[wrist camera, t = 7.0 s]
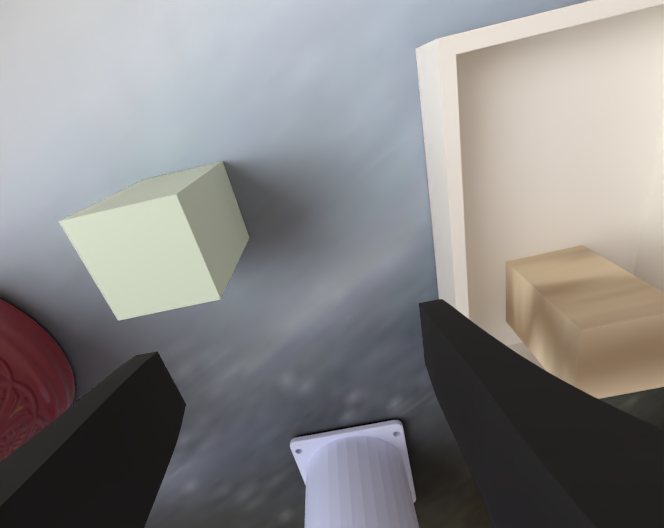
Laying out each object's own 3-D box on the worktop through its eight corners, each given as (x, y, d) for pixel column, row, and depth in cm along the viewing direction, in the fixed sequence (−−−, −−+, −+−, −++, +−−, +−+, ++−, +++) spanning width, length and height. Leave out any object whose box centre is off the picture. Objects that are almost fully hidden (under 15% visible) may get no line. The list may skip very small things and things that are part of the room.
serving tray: (626, 324, 21) (670, 357, 19) (444, 358, 22) (462, 395, 19) (693, -20, 14) (784, -48, 11) (415, 48, 15) (437, 38, 12)
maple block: (575, 307, 20) (669, 385, 15) (505, 321, 20) (573, 403, 15) (582, 245, 18) (691, 308, 13) (505, 261, 19) (581, 330, 13)
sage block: (249, 238, 18) (220, 299, 13) (176, 253, 18) (118, 320, 13) (222, 160, 16) (176, 194, 11) (142, 179, 17) (58, 221, 11)
